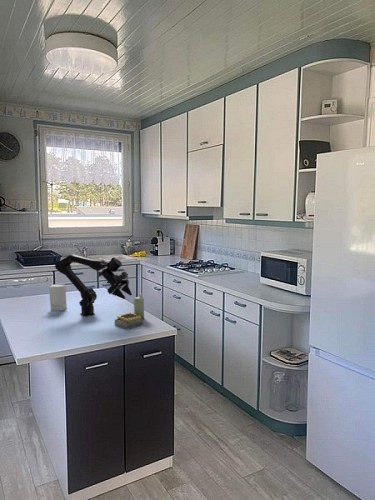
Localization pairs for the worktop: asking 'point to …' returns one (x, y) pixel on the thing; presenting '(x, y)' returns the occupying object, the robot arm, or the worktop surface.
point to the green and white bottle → (139, 306)
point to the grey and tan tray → (128, 320)
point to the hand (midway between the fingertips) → (128, 296)
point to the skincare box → (57, 297)
